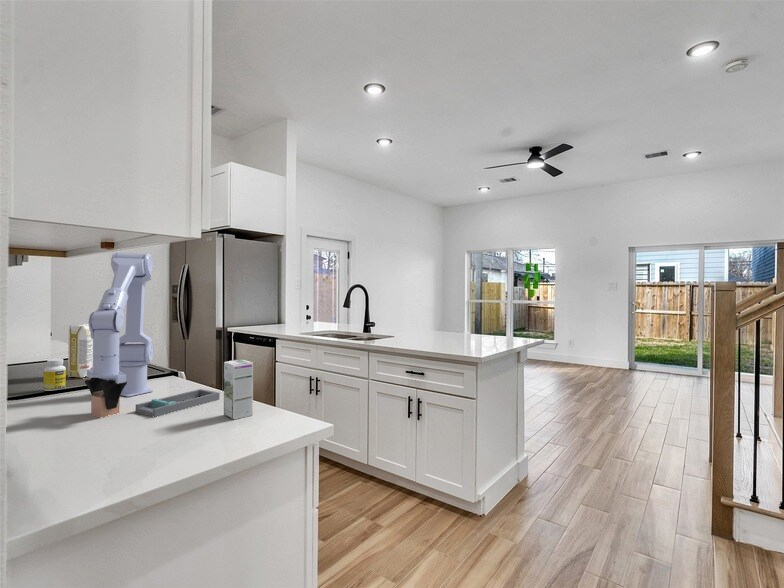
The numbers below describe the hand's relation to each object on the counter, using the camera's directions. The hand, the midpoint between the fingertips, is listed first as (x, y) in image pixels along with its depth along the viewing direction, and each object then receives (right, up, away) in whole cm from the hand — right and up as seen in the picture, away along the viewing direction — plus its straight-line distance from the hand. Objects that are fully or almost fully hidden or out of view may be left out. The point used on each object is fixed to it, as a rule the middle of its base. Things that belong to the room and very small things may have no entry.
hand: (105, 406), depth 106 cm
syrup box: (+34, -3, +2) cm, 35 cm away
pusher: (+13, -2, +6) cm, 14 cm away
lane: (+15, -2, +9) cm, 18 cm away
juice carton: (-37, -1, +41) cm, 56 cm away
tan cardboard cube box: (0, -2, 0) cm, 2 cm away
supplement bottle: (-32, -1, +22) cm, 38 cm away
